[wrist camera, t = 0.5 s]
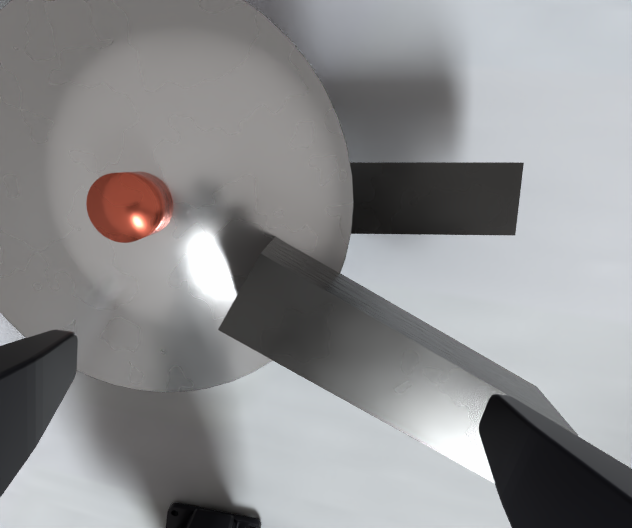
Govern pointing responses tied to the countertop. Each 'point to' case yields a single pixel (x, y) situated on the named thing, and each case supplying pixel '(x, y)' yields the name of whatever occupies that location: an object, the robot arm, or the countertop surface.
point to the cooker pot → (436, 198)
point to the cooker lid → (205, 217)
